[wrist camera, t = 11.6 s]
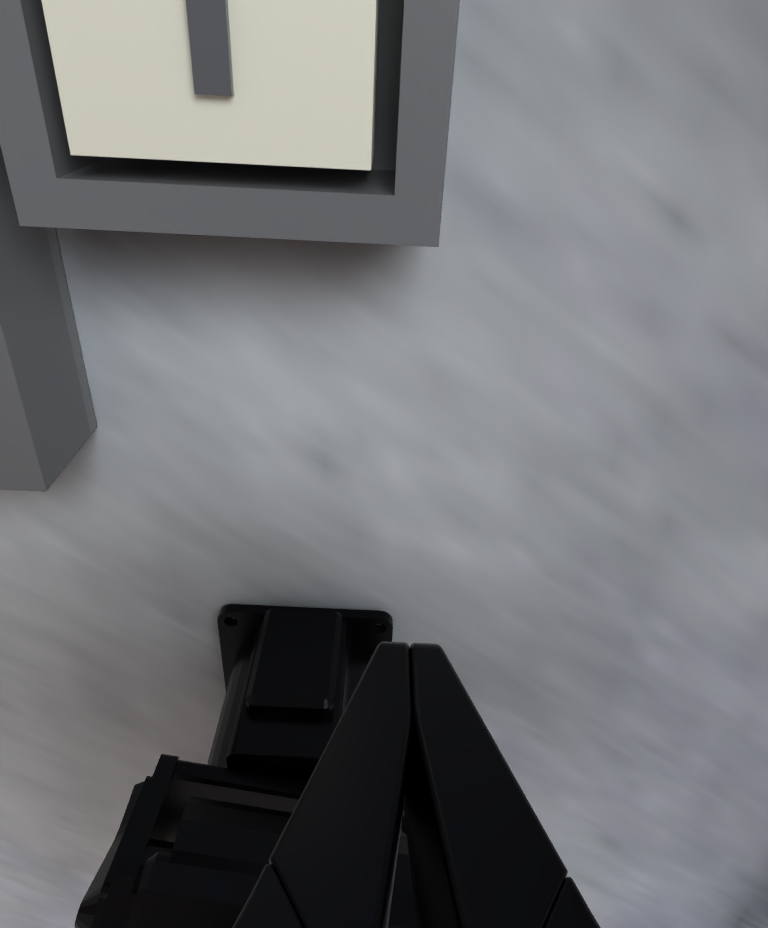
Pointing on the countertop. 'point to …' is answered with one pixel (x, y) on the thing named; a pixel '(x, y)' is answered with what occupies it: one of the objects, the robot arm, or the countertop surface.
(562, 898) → the robot arm
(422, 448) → the countertop surface
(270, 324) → the countertop surface
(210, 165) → the tile collars
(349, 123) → the tile
